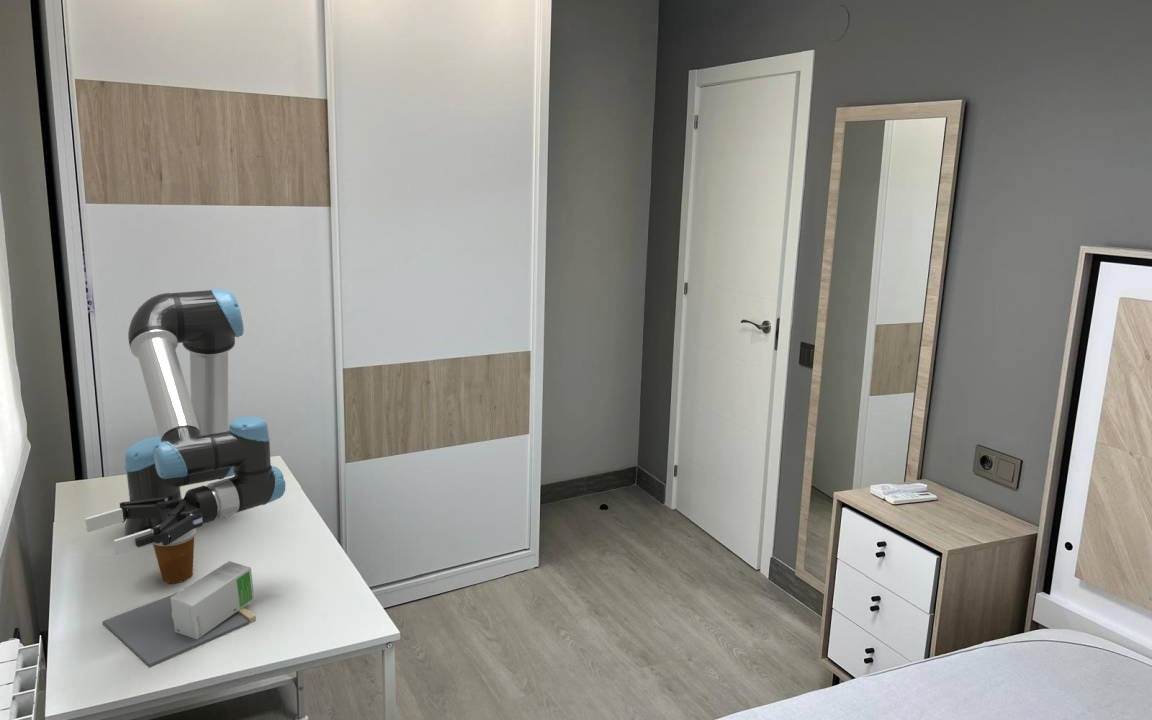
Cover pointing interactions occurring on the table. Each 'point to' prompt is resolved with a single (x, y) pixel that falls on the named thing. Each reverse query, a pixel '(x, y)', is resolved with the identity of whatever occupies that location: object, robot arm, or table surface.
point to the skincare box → (212, 599)
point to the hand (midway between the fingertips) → (100, 536)
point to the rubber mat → (165, 631)
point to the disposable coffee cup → (176, 558)
